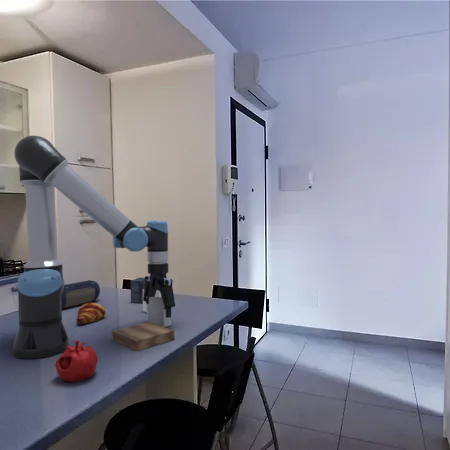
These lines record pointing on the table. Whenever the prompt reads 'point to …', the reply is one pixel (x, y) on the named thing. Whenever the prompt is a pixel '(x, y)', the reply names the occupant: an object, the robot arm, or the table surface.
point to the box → (137, 290)
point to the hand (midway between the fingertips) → (159, 323)
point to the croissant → (90, 313)
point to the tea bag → (155, 310)
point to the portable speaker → (80, 293)
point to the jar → (146, 297)
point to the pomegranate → (76, 363)
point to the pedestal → (143, 335)
